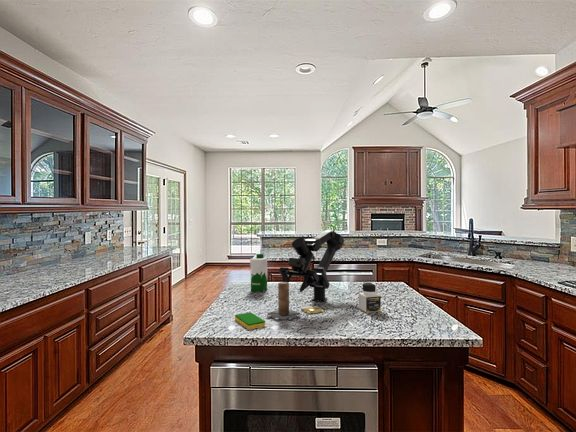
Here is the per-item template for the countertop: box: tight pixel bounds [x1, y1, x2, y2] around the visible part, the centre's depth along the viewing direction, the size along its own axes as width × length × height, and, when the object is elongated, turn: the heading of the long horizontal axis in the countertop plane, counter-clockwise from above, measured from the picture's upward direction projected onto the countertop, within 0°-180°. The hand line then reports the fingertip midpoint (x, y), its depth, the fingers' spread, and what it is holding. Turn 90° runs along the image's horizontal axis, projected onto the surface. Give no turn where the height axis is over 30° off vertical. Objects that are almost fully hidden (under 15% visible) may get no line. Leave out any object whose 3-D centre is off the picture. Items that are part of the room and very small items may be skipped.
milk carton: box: [249, 253, 268, 293], centre depth 188 cm, size 9×9×20 cm
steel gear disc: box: [266, 308, 301, 322], centre depth 141 cm, size 14×14×1 cm
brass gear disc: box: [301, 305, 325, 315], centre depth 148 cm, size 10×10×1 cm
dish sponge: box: [234, 311, 266, 330], centre depth 133 cm, size 7×14×2 cm, turn 30°
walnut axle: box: [277, 281, 290, 316], centre depth 141 cm, size 4×4×13 cm
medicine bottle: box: [358, 281, 382, 314], centre depth 148 cm, size 7×7×12 cm
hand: (291, 290), depth 146 cm, fingers open, 9 cm apart
